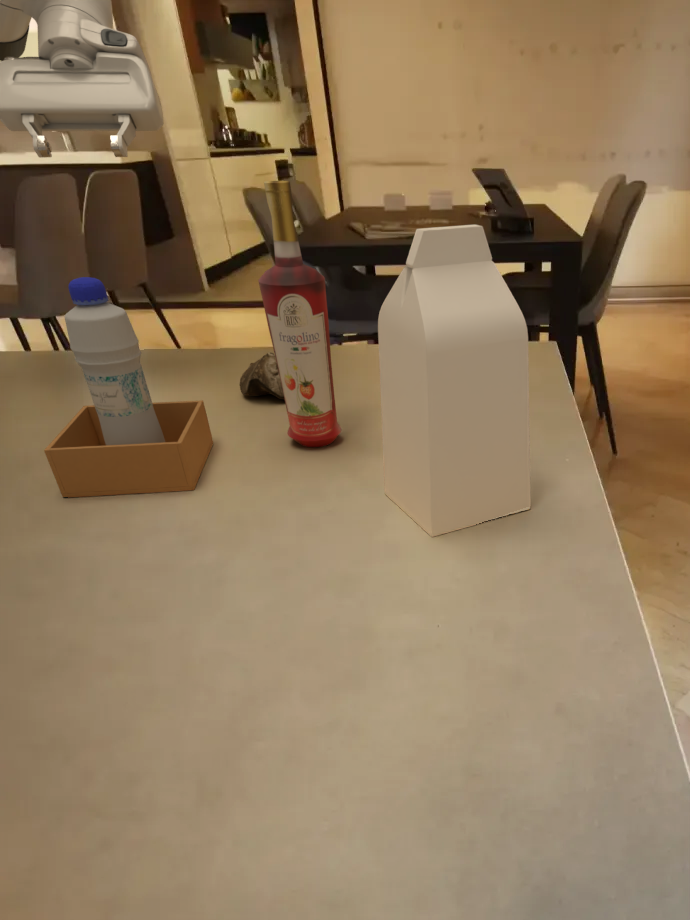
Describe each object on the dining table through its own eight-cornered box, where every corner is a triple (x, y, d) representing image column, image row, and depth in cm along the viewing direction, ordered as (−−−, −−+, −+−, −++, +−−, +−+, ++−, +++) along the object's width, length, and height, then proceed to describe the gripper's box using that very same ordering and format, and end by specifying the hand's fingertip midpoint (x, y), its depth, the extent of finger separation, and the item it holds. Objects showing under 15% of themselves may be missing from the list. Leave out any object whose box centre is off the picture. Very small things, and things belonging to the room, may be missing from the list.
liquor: (286, 453, 87) (238, 185, 70) (287, 432, 93) (243, 179, 75) (345, 449, 88) (312, 184, 71) (343, 428, 94) (312, 178, 77)
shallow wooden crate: (62, 498, 77) (43, 450, 74) (99, 449, 88) (83, 405, 85) (194, 490, 79) (181, 443, 75) (213, 443, 90) (203, 400, 86)
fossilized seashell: (319, 375, 104) (274, 376, 109) (291, 340, 98) (245, 342, 104) (295, 415, 102) (250, 413, 107) (266, 381, 96) (220, 381, 102)
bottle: (99, 471, 81) (31, 281, 69) (137, 450, 86) (81, 269, 74) (147, 479, 80) (87, 285, 67) (184, 457, 85) (134, 273, 73)
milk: (431, 537, 70) (417, 241, 54) (384, 493, 78) (360, 224, 62) (530, 509, 75) (544, 231, 59) (477, 471, 83) (476, 216, 67)
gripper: (-22, 34, 88) (-20, 132, 86) (148, 36, 90) (153, 132, 89) (7, 80, 94) (9, 173, 92) (165, 81, 96) (170, 172, 95)
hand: (81, 153), depth 90 cm, fingers open, 8 cm apart
